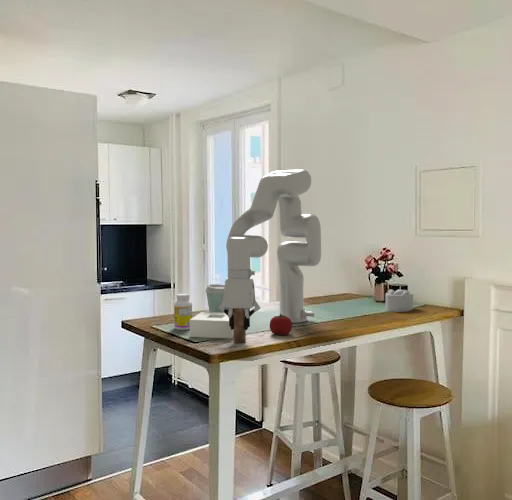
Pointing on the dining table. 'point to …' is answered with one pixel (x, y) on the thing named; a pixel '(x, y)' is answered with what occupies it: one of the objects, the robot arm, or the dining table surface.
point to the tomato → (280, 325)
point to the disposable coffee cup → (215, 297)
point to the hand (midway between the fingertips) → (239, 328)
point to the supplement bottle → (182, 312)
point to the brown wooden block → (239, 325)
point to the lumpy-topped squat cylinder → (399, 301)
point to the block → (211, 325)
